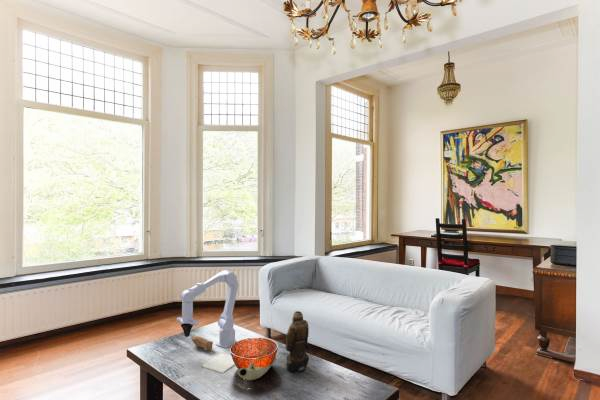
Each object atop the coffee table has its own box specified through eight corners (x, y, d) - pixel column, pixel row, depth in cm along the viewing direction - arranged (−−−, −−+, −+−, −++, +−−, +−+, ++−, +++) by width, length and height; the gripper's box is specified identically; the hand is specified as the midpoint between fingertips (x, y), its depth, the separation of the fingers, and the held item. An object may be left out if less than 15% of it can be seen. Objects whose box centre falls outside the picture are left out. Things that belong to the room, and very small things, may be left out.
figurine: (213, 351, 197) (197, 352, 205) (215, 335, 201) (200, 338, 210) (201, 348, 192) (185, 350, 200) (204, 333, 196) (188, 335, 204)
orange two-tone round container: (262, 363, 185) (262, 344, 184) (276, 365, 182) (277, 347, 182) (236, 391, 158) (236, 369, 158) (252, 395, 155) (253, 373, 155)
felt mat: (221, 354, 194) (221, 353, 194) (241, 359, 188) (241, 358, 188) (201, 366, 180) (201, 365, 180) (222, 373, 173) (222, 372, 173)
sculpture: (299, 362, 188) (297, 306, 189) (313, 370, 178) (311, 311, 179) (279, 368, 180) (278, 310, 182) (293, 377, 170) (291, 315, 172)
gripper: (172, 312, 193) (172, 336, 193) (192, 316, 186) (191, 341, 186) (181, 308, 199) (181, 331, 199) (201, 312, 192) (200, 336, 193)
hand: (187, 336), depth 193 cm, fingers closed
